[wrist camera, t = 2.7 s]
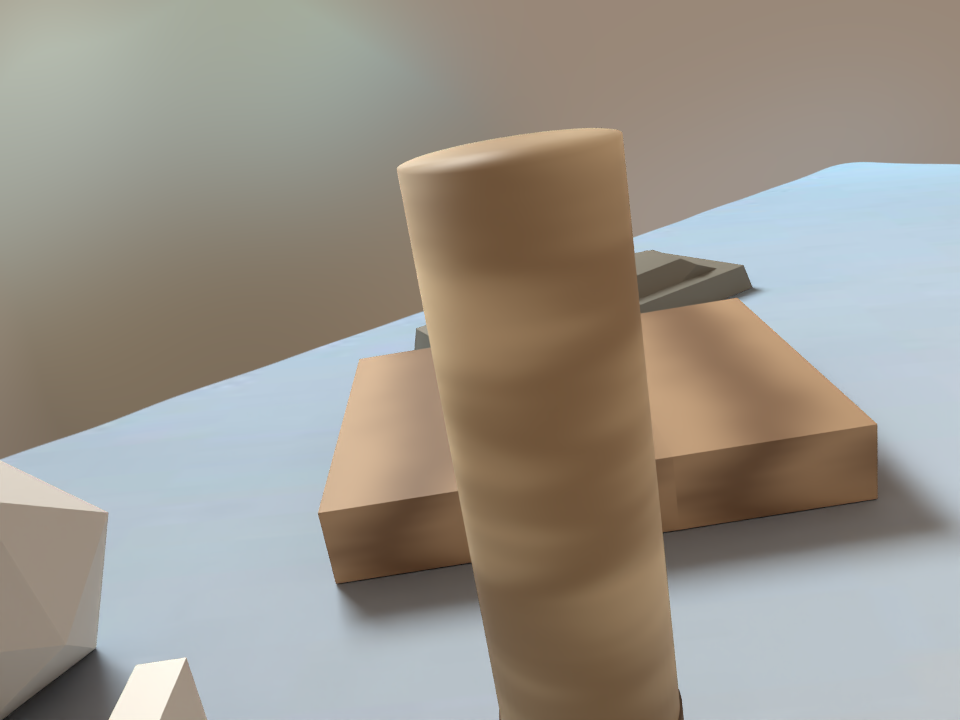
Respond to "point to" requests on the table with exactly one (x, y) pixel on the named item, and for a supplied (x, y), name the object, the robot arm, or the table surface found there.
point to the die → (45, 583)
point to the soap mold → (670, 283)
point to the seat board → (676, 435)
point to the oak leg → (548, 417)
